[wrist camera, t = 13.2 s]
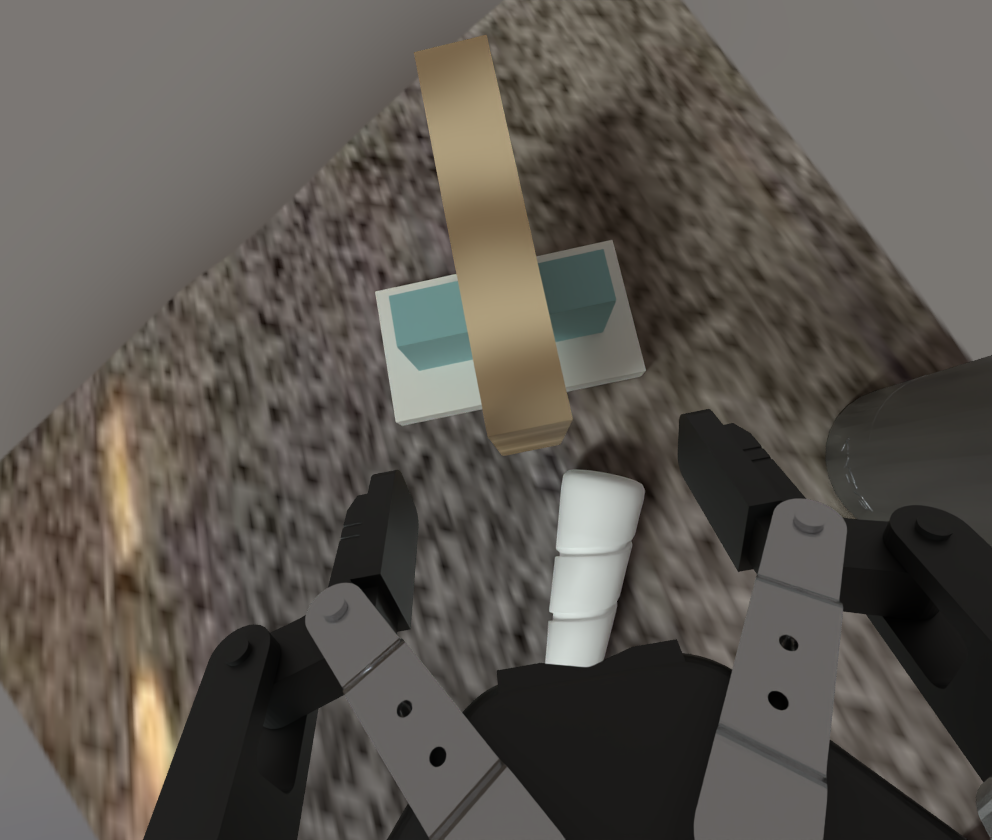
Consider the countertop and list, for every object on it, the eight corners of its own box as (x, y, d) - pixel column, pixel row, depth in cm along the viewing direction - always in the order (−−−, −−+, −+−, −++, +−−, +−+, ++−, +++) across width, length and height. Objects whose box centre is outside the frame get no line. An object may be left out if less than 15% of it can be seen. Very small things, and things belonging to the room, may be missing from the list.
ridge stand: (609, 251, 33) (627, 191, 26) (640, 376, 31) (668, 345, 25) (382, 300, 33) (346, 254, 27) (402, 425, 32) (369, 407, 26)
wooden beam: (448, 180, 27) (414, 52, 19) (500, 168, 27) (486, 34, 19) (502, 455, 25) (487, 436, 17) (560, 444, 24) (572, 419, 17)
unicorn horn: (471, 864, 28) (458, 939, 23) (564, 465, 31) (569, 459, 26) (552, 892, 27) (555, 975, 22) (637, 483, 30) (656, 480, 26)
